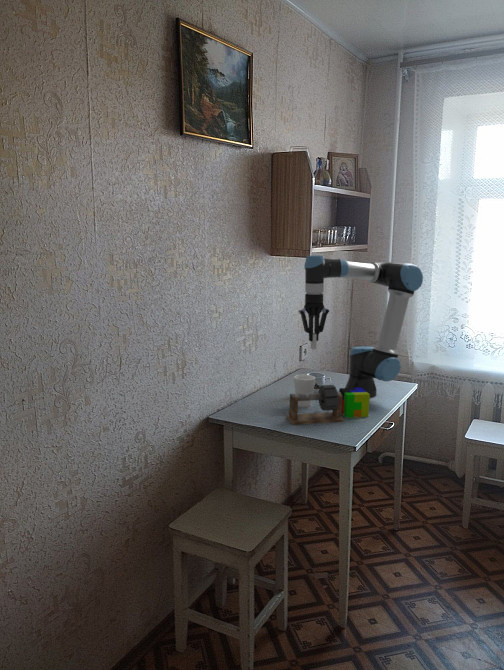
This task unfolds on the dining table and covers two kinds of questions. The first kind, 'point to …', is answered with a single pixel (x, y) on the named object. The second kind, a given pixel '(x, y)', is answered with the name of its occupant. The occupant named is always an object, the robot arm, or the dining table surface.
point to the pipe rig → (313, 417)
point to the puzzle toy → (355, 402)
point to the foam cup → (304, 387)
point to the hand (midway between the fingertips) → (313, 348)
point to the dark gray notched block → (328, 397)
